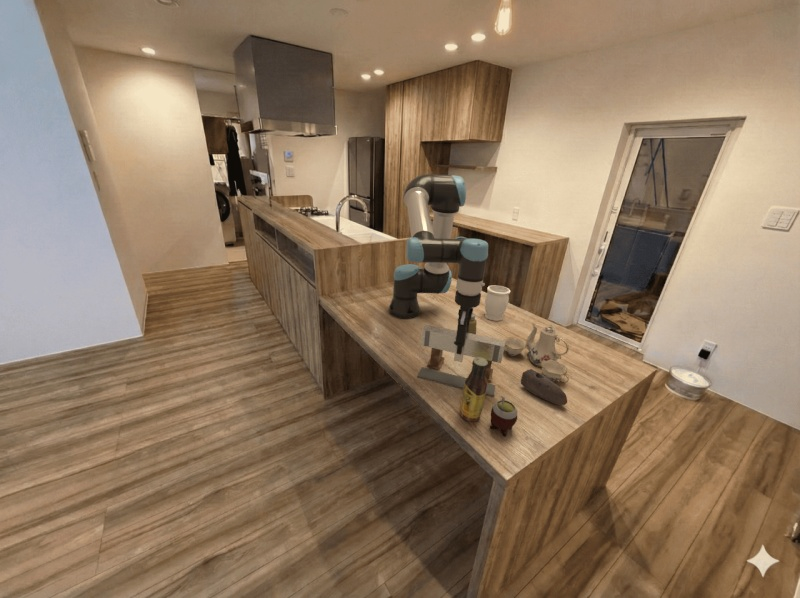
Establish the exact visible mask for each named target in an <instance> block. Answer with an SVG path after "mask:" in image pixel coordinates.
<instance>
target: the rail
mask: <svg viewBox="0 0 800 598" xmlns="http://www.w3.org/2000/svg"><path fill="white" fill-rule="evenodd" d="M456 335H457V329H450V328H445V327H441V326H436V325H432V324H431V325H430V324H427V323H426V324H424V326H423V327H422V328H421V335H420V337H421V338H420V346H422V347H427V348H431V349H432V348H435V349H440V350H443V351H445V352H449V353H453V354H455V348H456V345H455V344H454V341H456ZM504 351H505V340H504V339H500V338H496V337H491V336H490V337H489V336H485V335H480V334H477V333H476V334H471V333H466V337H465V348H464V355H463V356H467V357H471V358H476V357H481V358H484V359H486V360H489V361H492V363H493V362H494V363H498V364H502V361H503V355H504Z"/></svg>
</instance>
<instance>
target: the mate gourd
mask: <svg viewBox="0 0 800 598" xmlns="http://www.w3.org/2000/svg"><path fill="white" fill-rule="evenodd" d="M500 398H501V399H500V400H498V401H496V402H495V403H494V404H493V405H492V407H491V410H490V425H489V429H490V430H500V432H501V435H502V437H503V438H505V437H507V434H506V433H507V431H508V430H512V429H513V426H515V424H516V423H517V421H518V409H517V408H516V406H515V405H514V404H513V403H512V402H510V401H508V400H506V399H505V396H504V395H503V396H500Z"/></svg>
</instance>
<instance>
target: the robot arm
mask: <svg viewBox="0 0 800 598" xmlns="http://www.w3.org/2000/svg"><path fill="white" fill-rule="evenodd" d="M466 191H467V189H466V182H465V179H464V178H463V176H460V175H453V174H432V173H431V174H429V173H424V174H420V175H418V176H416V177H414V178H413V179H412V180H411V181H410V182H409V183H408V184H407V185H406V187H405V189H404V193H403V202H404V204H405V206H406V208H407V215H408V224H409V231H410V237H409V238H407V240H406V245H405V246H406V247H405V258H406V260H407V261H408V262H414V263H424V266H423V268H420V267H419V265H417V264H413V263H410V264H409V263H408V264H402V265H399V266H397V267H396V268H395V269H394V271H393V272H394V273H393V277H392V278H393V287H392V289H393V290H392V299H391V301H390V304H389V306H388V312H389V313H388V314H390V315H391V316H393V317H395V318H399V319H404V320H405V319H407V320H408V319H414V318H416V317H418V316H419V315H420V311H421V310H420V304H419V300H418V294H437V295H439V294H446V293H448V292H449V290H450V289H451V285H452V281H453V280H452V277H453V274H452V271H451V269H450V267H449V265H448V264H457V265H458V274H457V279H456V287H455V288H456V291H455V296H454V302H455V304H456V305H458V306H460V307H459V309H458V314H457V315H458V318H457V328H456V331H457V335H456V341H454V344H455V345H456V348H455V353H454V356H453V361H454V362H459V363H463V361H464V360H463V359H464V356H465V355H464V348H465V337H466V333H468V331H469V324H470V320H471V316H472V313H474V308H477V307H478V306H480V304H481V298H482V294H481V293H482V290H483V287H484V286H485V285H486V284H485V282H484V277H485V273H486V268H487V259H488V258H489V257H488V256H489V243H488V242H487V241H486V240H483V239H480V238H468V237H464V236H458V237H455V238H452V233H453V225H454V220H455V219H454V218H455V215H456V214H457V213H459V210H460V208H462V207H463V206H464V205H465V203H466V198H467V197H466V196H467V192H466ZM429 206H430V209H429ZM430 210H431V211H432V212H433V219H431V214H430Z"/></svg>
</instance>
